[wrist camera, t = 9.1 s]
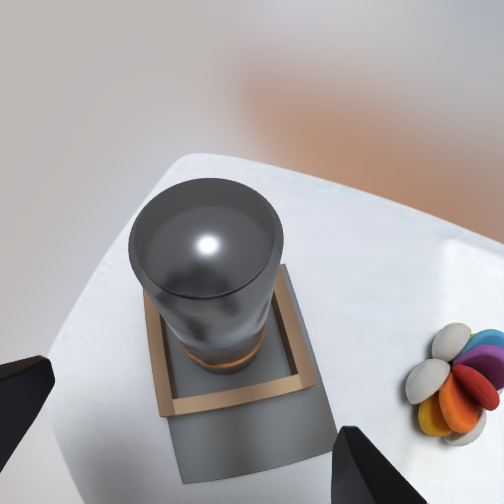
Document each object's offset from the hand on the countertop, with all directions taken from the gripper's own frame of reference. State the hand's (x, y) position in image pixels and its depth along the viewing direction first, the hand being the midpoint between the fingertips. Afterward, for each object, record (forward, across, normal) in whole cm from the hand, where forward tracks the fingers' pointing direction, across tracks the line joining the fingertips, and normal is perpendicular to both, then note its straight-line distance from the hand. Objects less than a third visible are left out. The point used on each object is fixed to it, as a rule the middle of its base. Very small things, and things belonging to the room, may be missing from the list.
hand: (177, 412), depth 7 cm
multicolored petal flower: (+12, -18, +8) cm, 23 cm away
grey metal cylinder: (+13, +1, +5) cm, 14 cm away
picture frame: (+12, -1, +7) cm, 14 cm away
